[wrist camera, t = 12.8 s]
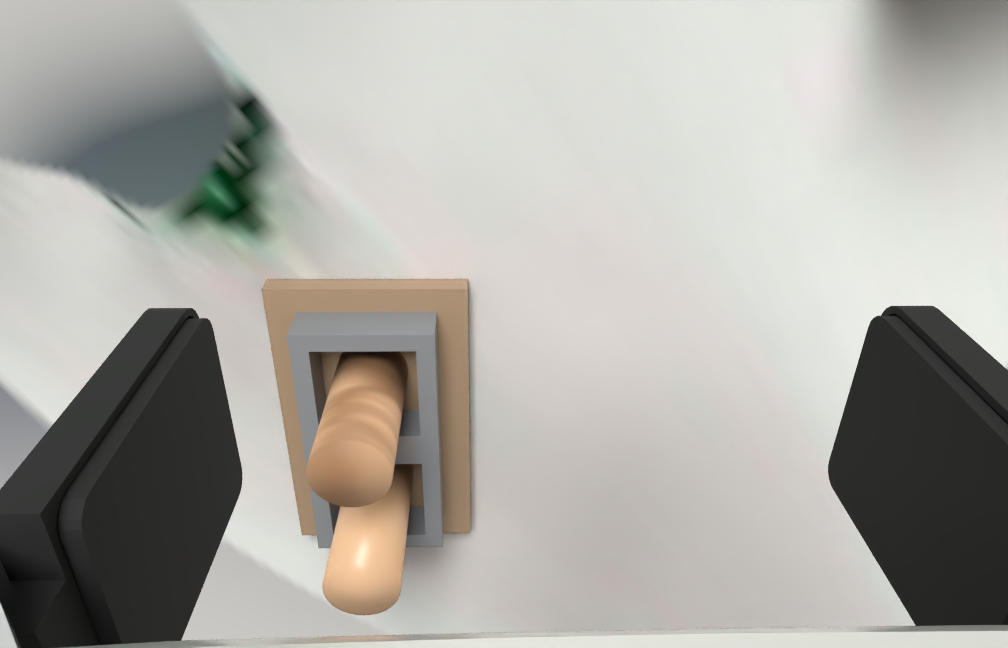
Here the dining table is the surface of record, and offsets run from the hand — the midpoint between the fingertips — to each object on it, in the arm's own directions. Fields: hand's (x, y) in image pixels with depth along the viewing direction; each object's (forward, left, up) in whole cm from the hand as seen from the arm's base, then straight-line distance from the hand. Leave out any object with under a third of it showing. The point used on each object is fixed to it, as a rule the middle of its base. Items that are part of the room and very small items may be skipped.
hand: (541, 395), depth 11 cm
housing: (+7, +21, -28) cm, 36 cm away
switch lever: (+7, +17, -27) cm, 33 cm away
